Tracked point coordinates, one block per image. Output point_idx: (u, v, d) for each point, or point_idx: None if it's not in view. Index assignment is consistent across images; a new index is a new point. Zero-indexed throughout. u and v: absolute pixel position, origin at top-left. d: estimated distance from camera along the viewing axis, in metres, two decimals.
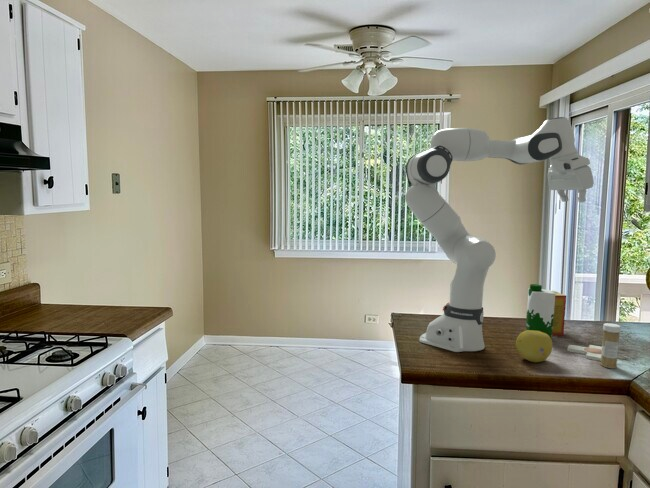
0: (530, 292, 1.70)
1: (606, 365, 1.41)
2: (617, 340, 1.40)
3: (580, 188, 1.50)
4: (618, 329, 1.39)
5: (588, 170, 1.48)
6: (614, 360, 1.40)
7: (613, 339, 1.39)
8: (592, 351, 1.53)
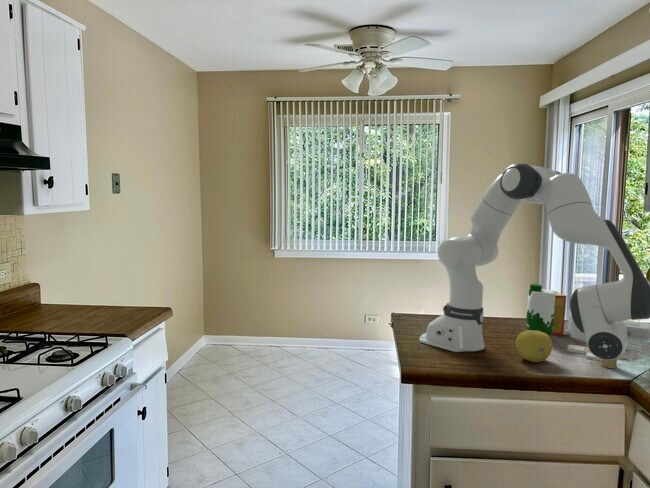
0: (530, 292, 1.70)
1: (606, 365, 1.41)
2: None
3: None
4: None
5: (568, 327, 1.28)
6: (614, 360, 1.40)
7: None
8: None
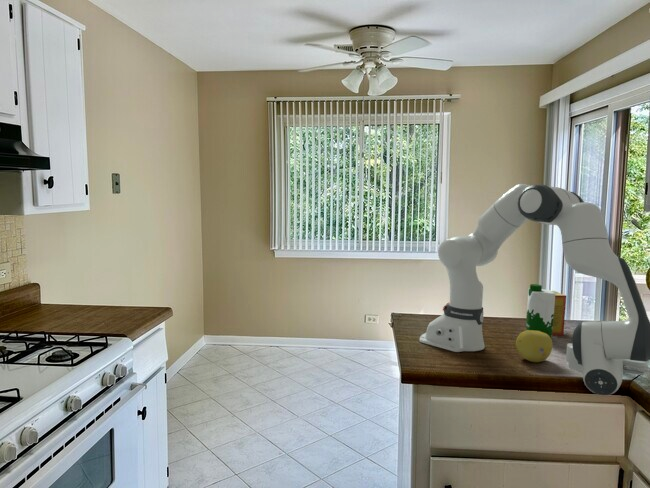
0: (530, 292, 1.70)
1: None
2: None
3: None
4: None
5: (567, 357, 1.33)
6: None
7: None
8: None
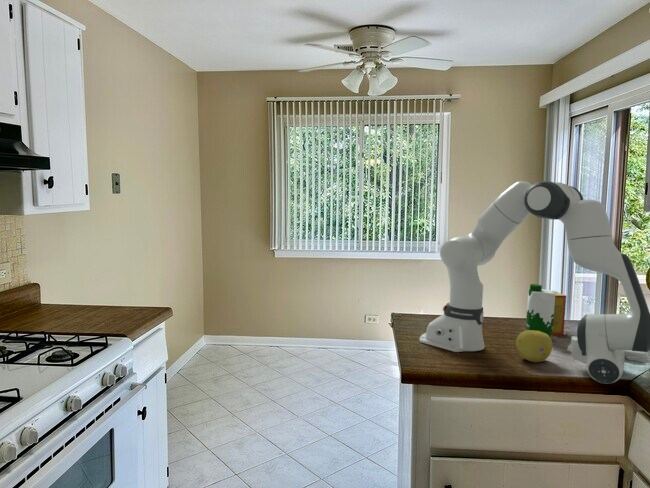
0: (530, 292, 1.70)
1: None
2: None
3: None
4: None
5: (571, 349, 1.40)
6: None
7: None
8: None
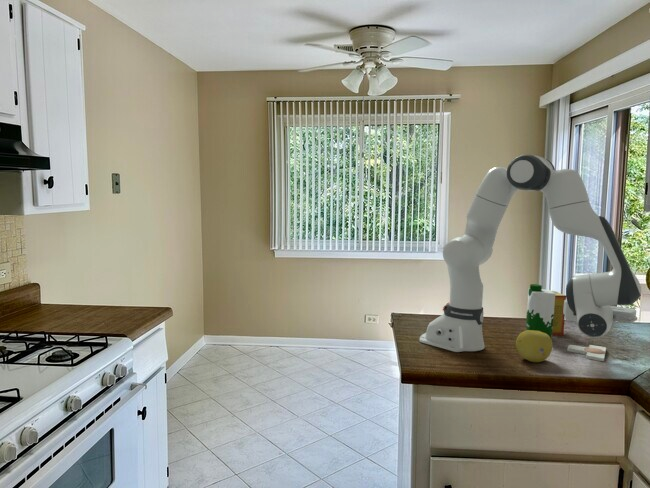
0: (530, 292, 1.70)
1: None
2: None
3: None
4: None
5: (563, 311, 1.48)
6: None
7: None
8: (592, 351, 1.53)
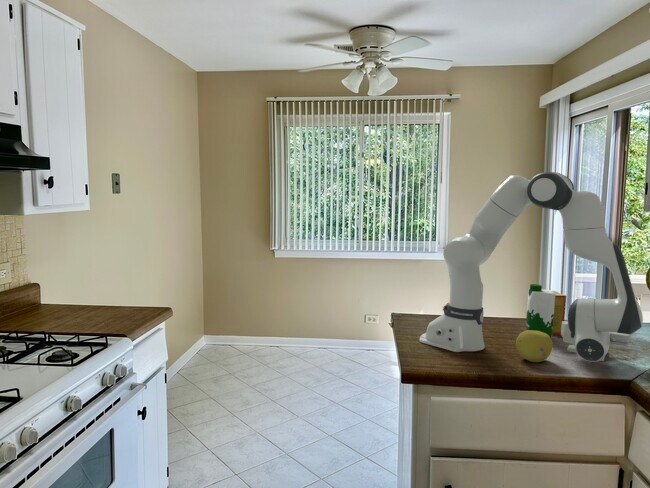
0: (530, 292, 1.70)
1: None
2: None
3: None
4: None
5: (561, 333, 1.51)
6: None
7: None
8: None
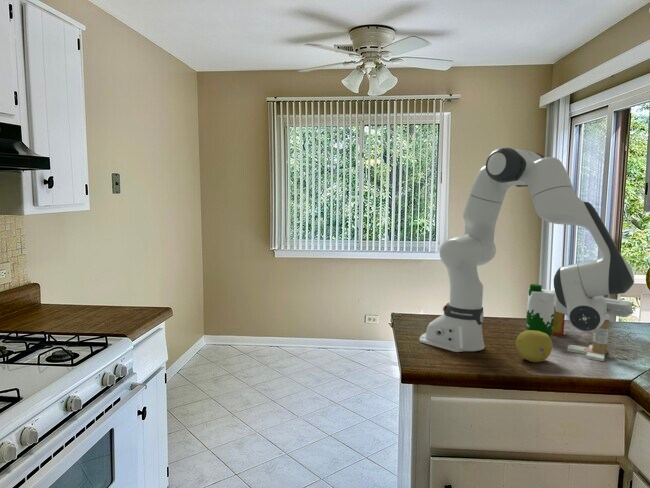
0: (530, 292, 1.70)
1: (597, 350, 1.52)
2: (607, 327, 1.50)
3: None
4: (608, 317, 1.50)
5: (554, 302, 1.38)
6: (605, 346, 1.51)
7: (604, 326, 1.50)
8: (592, 351, 1.53)
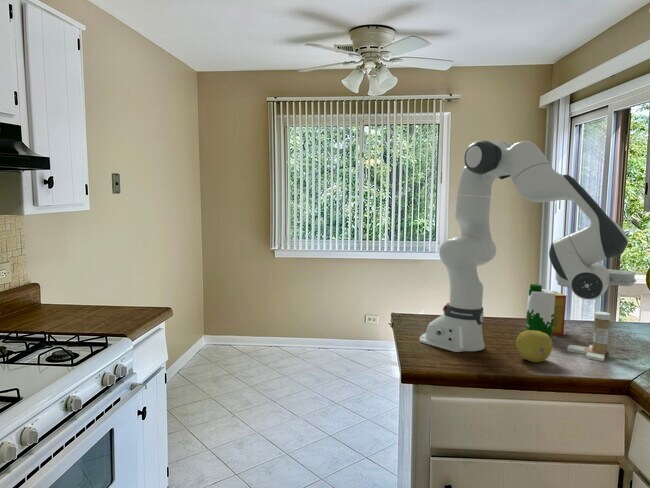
0: (530, 292, 1.70)
1: (597, 350, 1.52)
2: (607, 327, 1.50)
3: None
4: (608, 317, 1.50)
5: (556, 276, 1.36)
6: (605, 346, 1.51)
7: (604, 326, 1.50)
8: (592, 351, 1.53)
